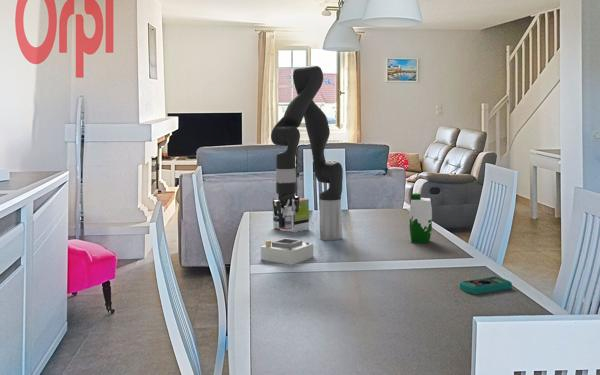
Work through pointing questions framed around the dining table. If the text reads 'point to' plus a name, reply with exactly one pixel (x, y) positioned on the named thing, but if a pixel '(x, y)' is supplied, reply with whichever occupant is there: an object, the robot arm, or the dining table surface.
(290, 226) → the pill bottle
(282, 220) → the robot arm
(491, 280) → the digital multimeter
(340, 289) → the dining table surface
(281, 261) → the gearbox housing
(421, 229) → the milk carton
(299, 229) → the tea box
